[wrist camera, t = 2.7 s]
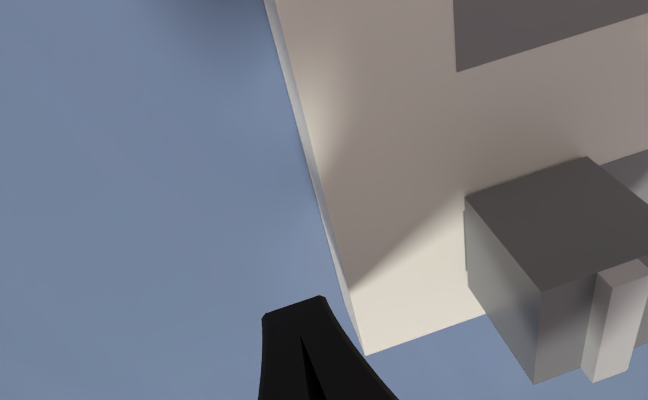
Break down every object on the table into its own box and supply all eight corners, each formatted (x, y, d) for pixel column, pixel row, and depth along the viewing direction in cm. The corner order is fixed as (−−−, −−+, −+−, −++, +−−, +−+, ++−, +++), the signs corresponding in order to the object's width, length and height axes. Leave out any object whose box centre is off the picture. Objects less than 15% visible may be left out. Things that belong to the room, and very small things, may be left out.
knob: (574, 249, 14) (674, 353, 11) (467, 286, 14) (544, 400, 11) (587, 156, 12) (710, 253, 9) (464, 196, 12) (554, 308, 9)
